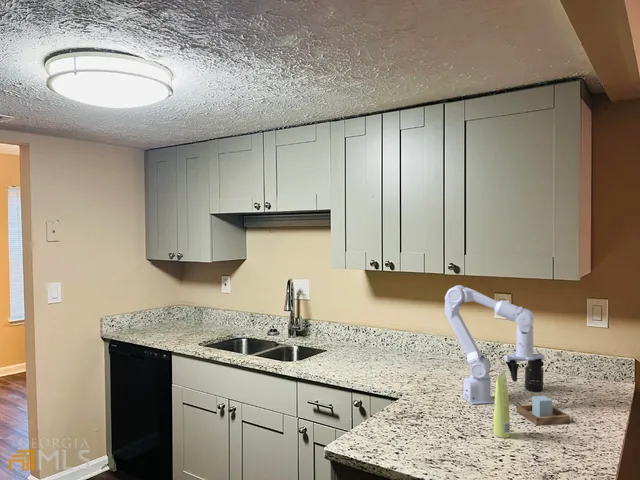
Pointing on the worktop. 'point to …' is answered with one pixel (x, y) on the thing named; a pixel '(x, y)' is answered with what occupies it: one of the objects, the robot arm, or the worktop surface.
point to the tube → (501, 408)
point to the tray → (556, 417)
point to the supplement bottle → (531, 384)
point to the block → (541, 406)
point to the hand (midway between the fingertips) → (524, 380)
